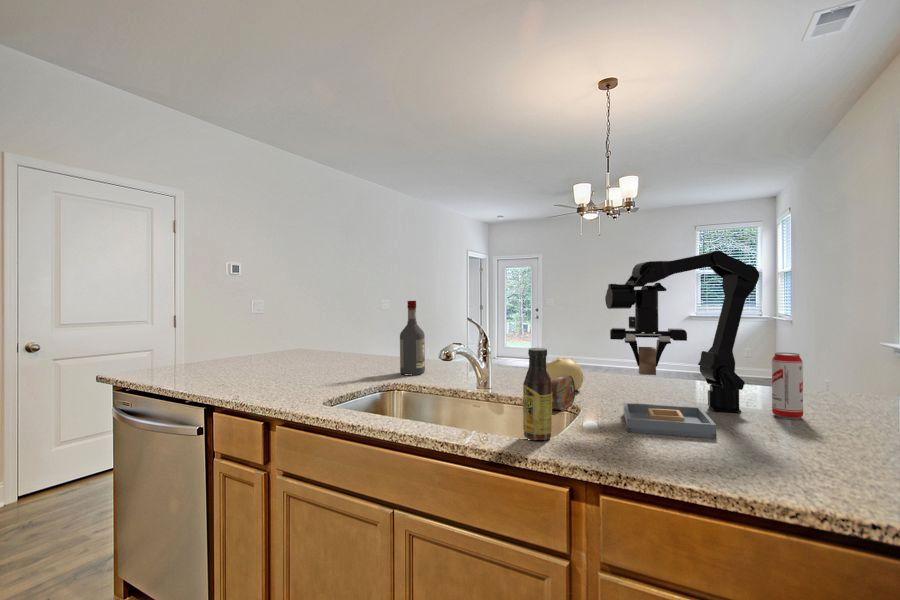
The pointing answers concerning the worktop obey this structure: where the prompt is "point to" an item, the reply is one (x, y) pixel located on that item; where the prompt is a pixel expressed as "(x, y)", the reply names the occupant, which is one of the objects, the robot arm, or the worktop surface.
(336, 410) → the worktop surface
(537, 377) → the sauce bottle
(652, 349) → the brown rectangular block
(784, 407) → the beer can
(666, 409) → the box
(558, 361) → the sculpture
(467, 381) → the worktop surface
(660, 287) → the robot arm
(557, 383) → the tin
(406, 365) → the liquor
